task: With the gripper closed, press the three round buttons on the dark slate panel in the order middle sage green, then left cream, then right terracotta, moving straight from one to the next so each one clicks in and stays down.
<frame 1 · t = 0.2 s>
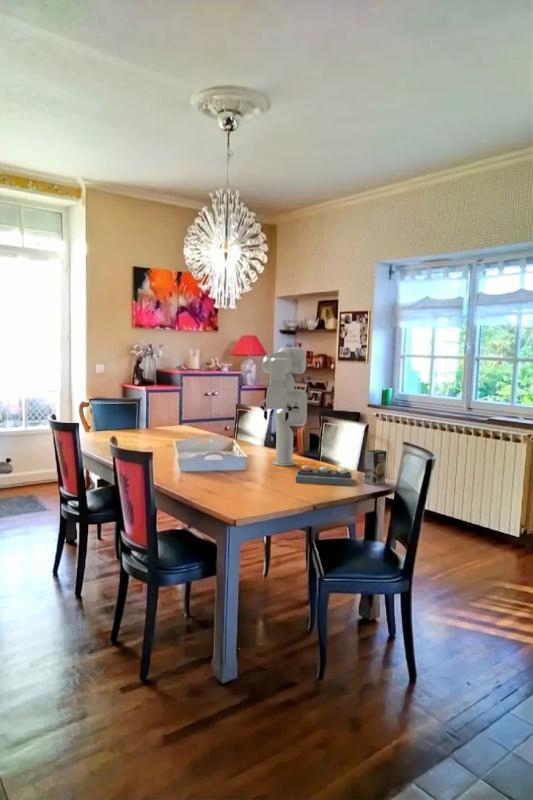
hand: (276, 420, 254), 31 cm above the table, tool pointing down, fingers open, 9 cm apart
sage button: (324, 469, 265), point 6 cm above the table, slide at 0.0 cm
coffee box: (374, 483, 264), on the table
button panel: (323, 480, 265), on the table
cream button: (342, 470, 264), point 6 cm above the table, slide at 0.0 cm
terracotta button: (306, 468, 266), point 6 cm above the table, slide at 0.0 cm
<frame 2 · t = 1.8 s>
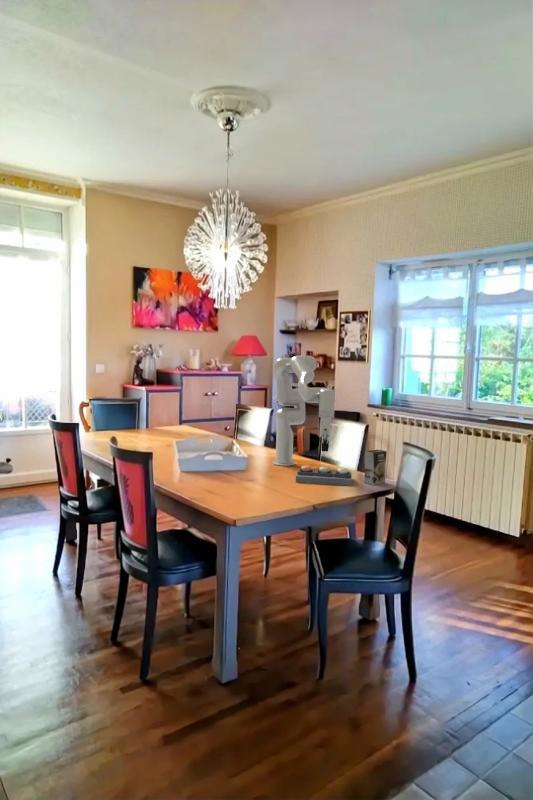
hand: (325, 449, 264), 16 cm above the table, tool pointing down, fingers open, 6 cm apart
nothing on the table moved.
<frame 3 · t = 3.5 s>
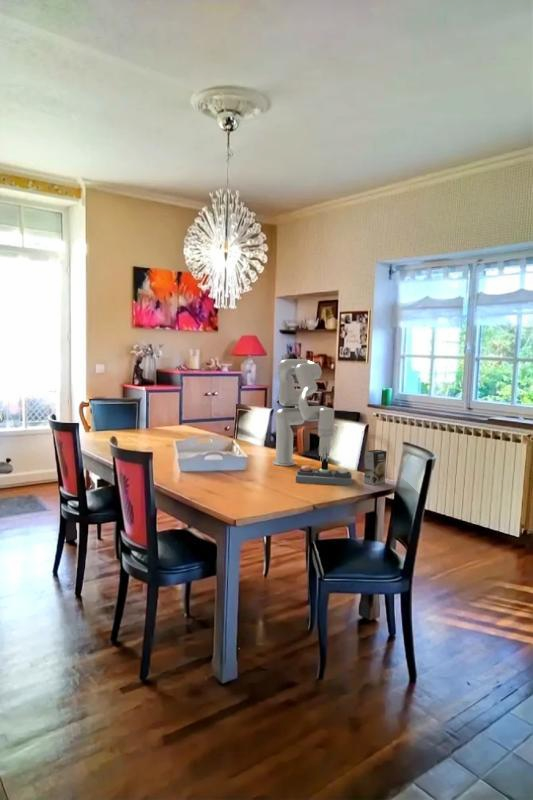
hand: (324, 469, 265), 6 cm above the table, tool pointing down, fingers closed
sage button: (324, 471, 265), point 5 cm above the table, slide at 0.7 cm, touching gripper
everything else where it was.
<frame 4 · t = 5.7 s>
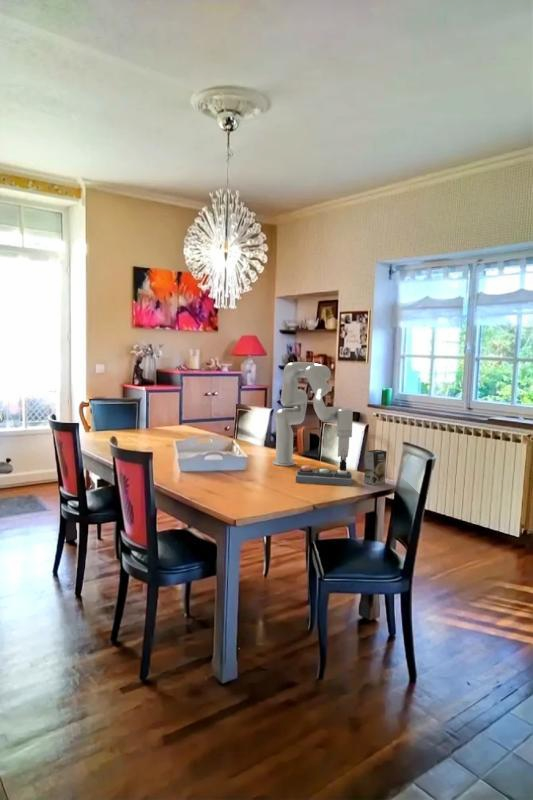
hand: (342, 470, 263), 6 cm above the table, tool pointing down, fingers closed
sage button: (324, 471, 265), point 4 cm above the table, slide at 1.0 cm
cream button: (342, 472, 264), point 5 cm above the table, slide at 0.6 cm, touching gripper
everything else where it was.
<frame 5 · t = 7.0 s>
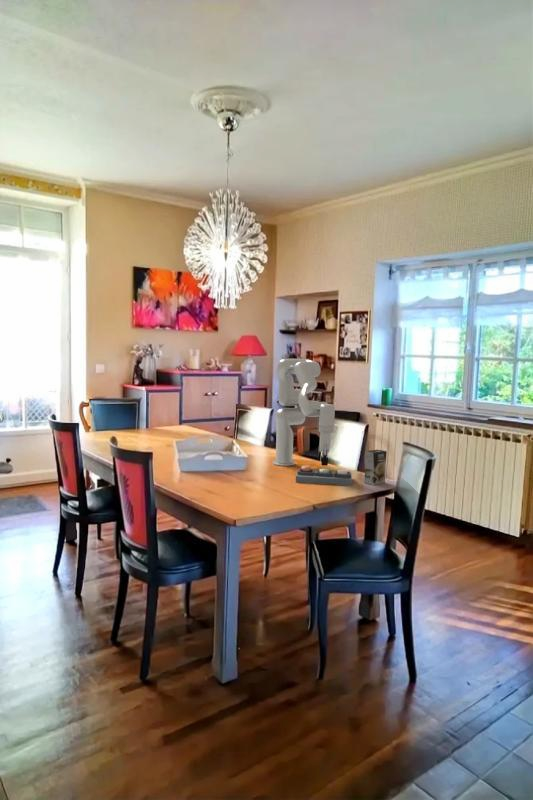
hand: (324, 465, 265), 8 cm above the table, tool pointing down, fingers closed
cream button: (342, 472, 264), point 4 cm above the table, slide at 1.0 cm
everything else where it was.
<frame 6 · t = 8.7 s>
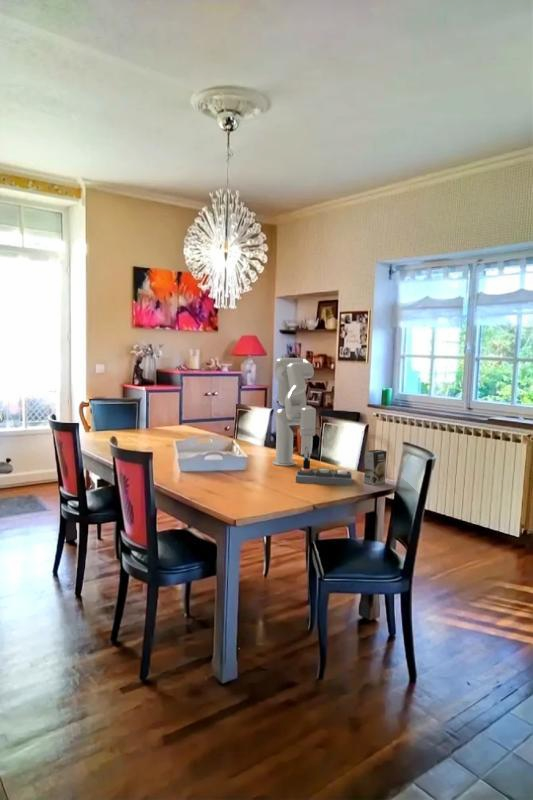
hand: (306, 468, 266), 6 cm above the table, tool pointing down, fingers closed
terracotta button: (306, 470, 266), point 5 cm above the table, slide at 0.9 cm, touching gripper
everything else where it was.
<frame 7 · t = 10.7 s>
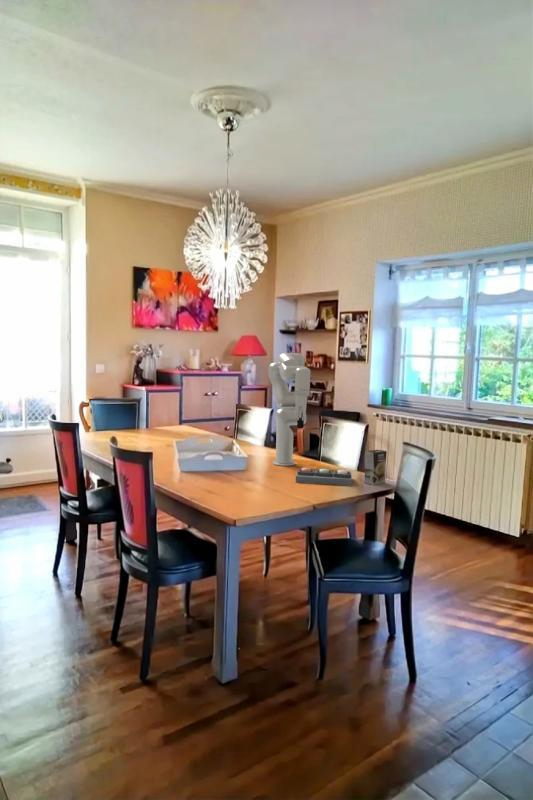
hand: (300, 427, 271), 25 cm above the table, tool pointing down, fingers closed
terracotta button: (306, 470, 266), point 4 cm above the table, slide at 1.0 cm
everything else where it was.
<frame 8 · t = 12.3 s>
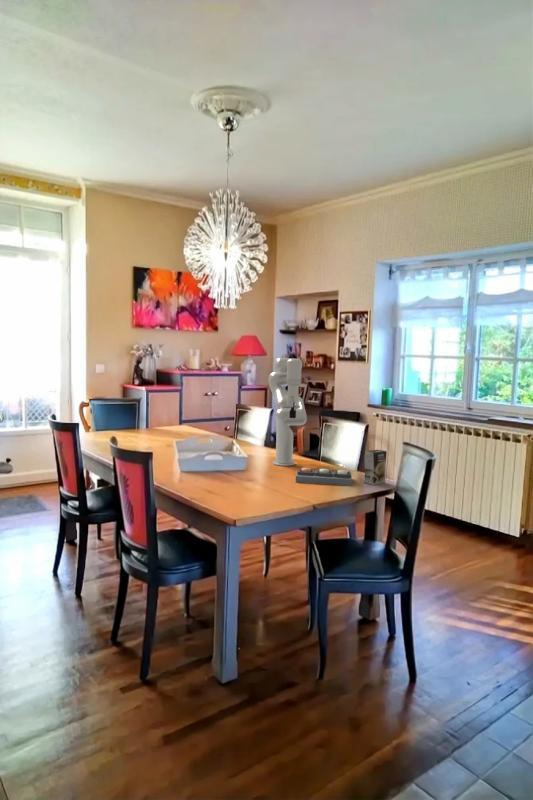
hand: (292, 417, 278), 29 cm above the table, tool pointing down, fingers closed
nothing on the table moved.
at the end: sage button slide at 1.0 cm; cream button slide at 1.0 cm; terracotta button slide at 1.0 cm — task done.
